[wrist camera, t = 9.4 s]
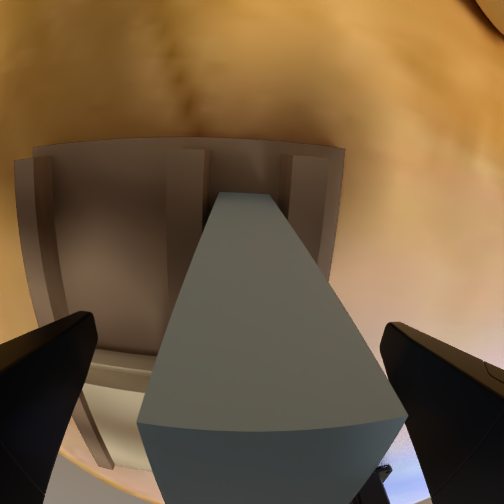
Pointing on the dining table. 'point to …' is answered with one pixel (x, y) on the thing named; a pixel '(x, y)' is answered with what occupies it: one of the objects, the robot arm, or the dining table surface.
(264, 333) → the light blue block
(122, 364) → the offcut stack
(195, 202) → the rack
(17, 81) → the dining table surface
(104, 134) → the dining table surface
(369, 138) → the dining table surface
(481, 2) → the sculpture
